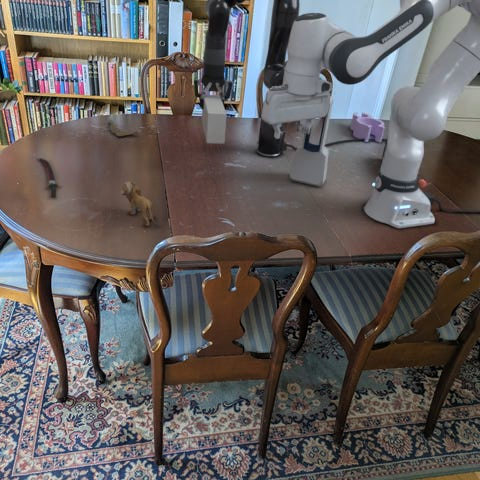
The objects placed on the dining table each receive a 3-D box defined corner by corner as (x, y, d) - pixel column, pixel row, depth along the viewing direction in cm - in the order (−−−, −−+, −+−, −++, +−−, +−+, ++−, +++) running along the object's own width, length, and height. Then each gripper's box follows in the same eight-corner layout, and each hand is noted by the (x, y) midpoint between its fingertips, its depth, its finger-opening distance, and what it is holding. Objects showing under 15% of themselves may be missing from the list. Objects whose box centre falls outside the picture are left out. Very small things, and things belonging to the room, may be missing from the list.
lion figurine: (118, 210, 138) (116, 182, 133) (132, 204, 141) (131, 177, 137) (151, 229, 130) (150, 201, 126) (165, 223, 134) (165, 195, 129)
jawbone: (124, 141, 183) (123, 136, 182) (92, 127, 194) (92, 122, 192) (142, 134, 189) (141, 130, 188) (110, 121, 199) (109, 116, 198)
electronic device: (325, 180, 169) (342, 97, 152) (321, 188, 163) (339, 103, 146) (292, 173, 172) (306, 91, 155) (287, 181, 165) (301, 96, 149)
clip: (343, 126, 223) (346, 112, 219) (367, 127, 225) (371, 113, 221) (360, 142, 206) (364, 127, 202) (386, 142, 209) (390, 127, 205)
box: (201, 121, 175) (203, 94, 170) (217, 122, 176) (219, 95, 171) (206, 143, 158) (208, 113, 152) (224, 143, 159) (226, 114, 153)
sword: (61, 197, 141) (61, 193, 140) (50, 198, 139) (50, 194, 139) (49, 160, 164) (48, 156, 163) (39, 160, 163) (39, 157, 162)
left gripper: (194, 62, 157) (192, 111, 166) (236, 65, 159) (232, 113, 168) (192, 57, 163) (191, 105, 172) (233, 60, 165) (229, 106, 175)
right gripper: (275, 90, 111) (268, 145, 118) (337, 84, 121) (327, 135, 129) (259, 82, 115) (253, 136, 122) (321, 77, 125) (312, 127, 133)
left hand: (211, 109), depth 170 cm, fingers closed on box, 6 cm apart
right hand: (291, 135), depth 125 cm, fingers open, 8 cm apart
